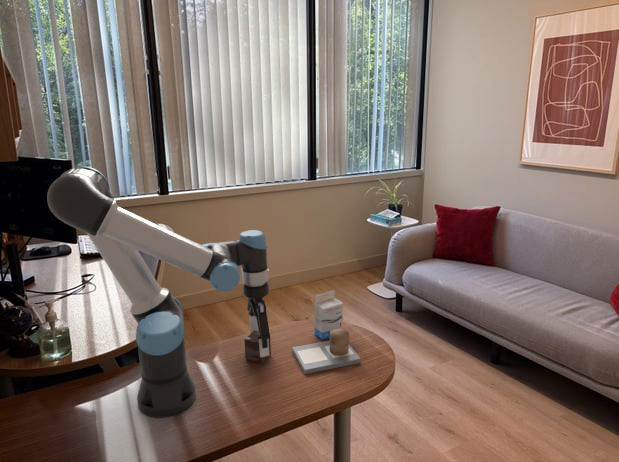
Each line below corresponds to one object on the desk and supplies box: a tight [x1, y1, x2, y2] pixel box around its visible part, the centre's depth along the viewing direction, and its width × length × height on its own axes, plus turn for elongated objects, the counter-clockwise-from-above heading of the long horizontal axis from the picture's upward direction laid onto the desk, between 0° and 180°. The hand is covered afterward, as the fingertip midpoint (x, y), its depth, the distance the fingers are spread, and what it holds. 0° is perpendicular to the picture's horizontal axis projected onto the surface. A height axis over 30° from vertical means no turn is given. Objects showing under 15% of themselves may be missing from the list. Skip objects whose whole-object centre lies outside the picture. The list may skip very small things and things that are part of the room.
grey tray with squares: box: [291, 339, 362, 375], centre depth 145 cm, size 18×13×2 cm
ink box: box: [314, 289, 344, 341], centre depth 156 cm, size 8×5×15 cm, turn 123°
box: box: [243, 331, 272, 364], centre depth 144 cm, size 6×6×7 cm
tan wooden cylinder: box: [329, 328, 350, 356], centre depth 145 cm, size 6×6×6 cm
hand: (259, 344), depth 144 cm, fingers open, 13 cm apart
